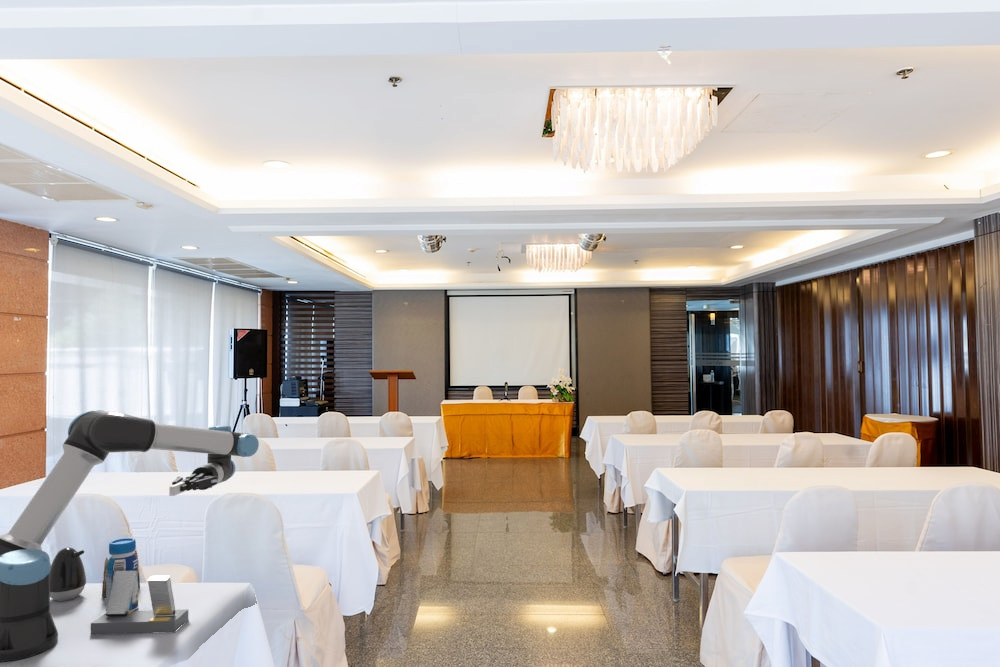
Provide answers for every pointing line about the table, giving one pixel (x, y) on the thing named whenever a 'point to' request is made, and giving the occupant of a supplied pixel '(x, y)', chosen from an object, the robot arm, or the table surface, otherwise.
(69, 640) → the table surface
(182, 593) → the table surface
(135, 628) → the switch base
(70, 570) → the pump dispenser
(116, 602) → the left lever
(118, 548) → the beverage bottle
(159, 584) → the right lever
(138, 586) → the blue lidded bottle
